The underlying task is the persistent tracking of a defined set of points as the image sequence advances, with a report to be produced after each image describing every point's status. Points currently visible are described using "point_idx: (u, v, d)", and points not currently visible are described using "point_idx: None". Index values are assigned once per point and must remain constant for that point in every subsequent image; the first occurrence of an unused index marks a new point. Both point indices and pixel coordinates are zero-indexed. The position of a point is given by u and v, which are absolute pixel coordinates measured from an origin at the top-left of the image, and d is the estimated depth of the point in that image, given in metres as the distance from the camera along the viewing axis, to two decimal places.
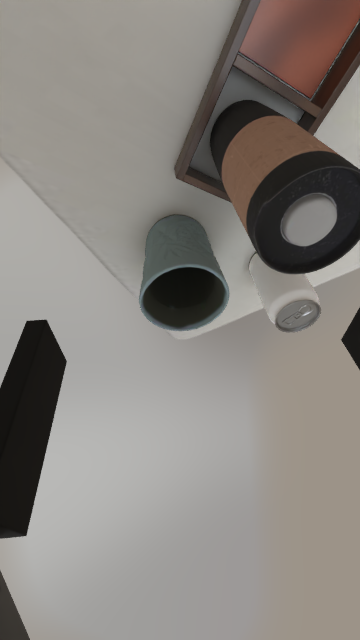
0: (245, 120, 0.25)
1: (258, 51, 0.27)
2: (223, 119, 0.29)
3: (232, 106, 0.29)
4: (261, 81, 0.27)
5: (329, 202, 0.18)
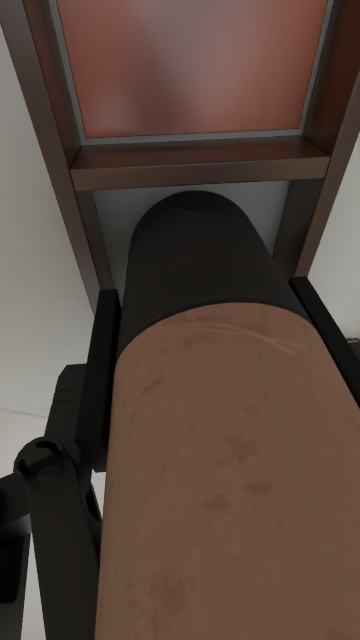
0: (128, 320, 0.10)
1: (131, 114, 0.12)
2: None
3: (139, 228, 0.15)
4: (153, 184, 0.11)
5: None
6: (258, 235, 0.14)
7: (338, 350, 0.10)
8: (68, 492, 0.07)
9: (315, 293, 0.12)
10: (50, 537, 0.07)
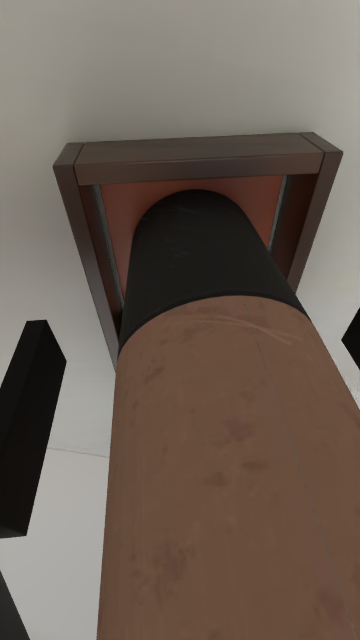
0: (130, 314, 0.10)
1: None
2: (129, 262, 0.15)
3: (140, 225, 0.15)
4: None
5: None
6: None
7: None
8: None
9: None
10: None
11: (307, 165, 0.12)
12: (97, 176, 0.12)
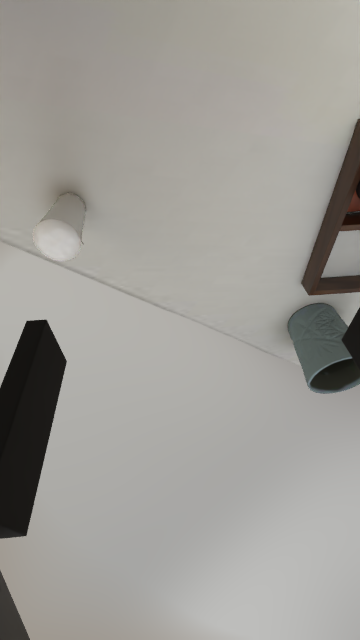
0: None
1: (352, 206, 0.38)
2: None
3: None
4: None
5: None
6: None
7: None
8: None
9: None
10: None
11: None
12: None
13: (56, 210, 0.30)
